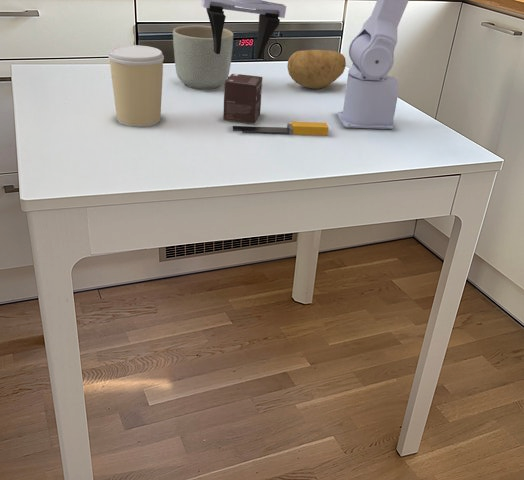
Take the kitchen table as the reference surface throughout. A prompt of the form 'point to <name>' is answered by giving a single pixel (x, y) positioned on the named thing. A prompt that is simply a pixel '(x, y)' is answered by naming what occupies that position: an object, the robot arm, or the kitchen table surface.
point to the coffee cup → (137, 84)
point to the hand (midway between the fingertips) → (237, 54)
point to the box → (242, 98)
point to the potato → (316, 67)
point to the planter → (201, 56)
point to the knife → (289, 129)
